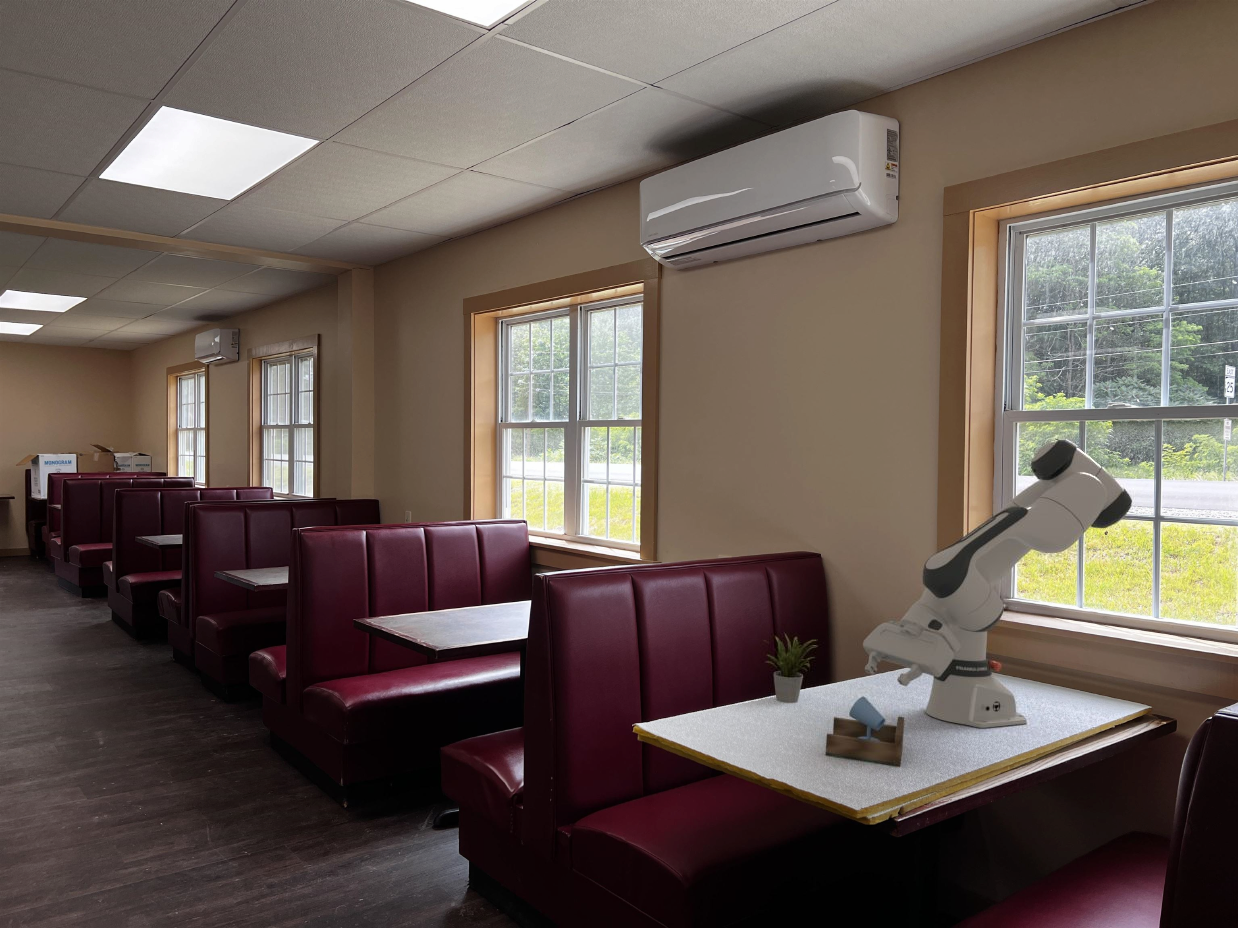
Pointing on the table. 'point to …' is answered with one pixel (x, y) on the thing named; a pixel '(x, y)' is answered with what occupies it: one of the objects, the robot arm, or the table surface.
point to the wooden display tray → (866, 742)
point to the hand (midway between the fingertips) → (884, 677)
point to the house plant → (789, 671)
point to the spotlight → (867, 716)
